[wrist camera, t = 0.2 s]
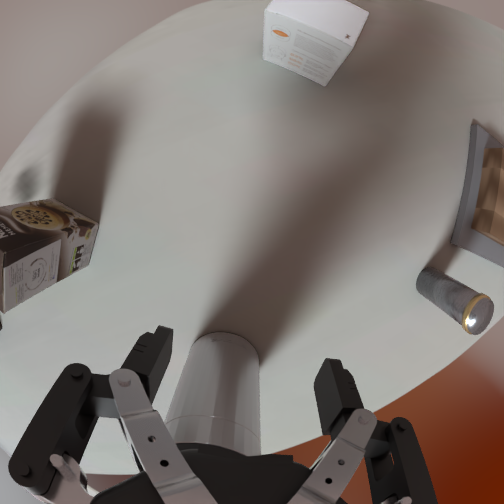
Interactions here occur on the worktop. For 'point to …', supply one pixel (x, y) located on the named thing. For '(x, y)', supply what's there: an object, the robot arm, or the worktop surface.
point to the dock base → (475, 201)
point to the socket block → (491, 197)
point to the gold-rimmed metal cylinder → (456, 300)
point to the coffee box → (40, 248)
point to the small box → (311, 35)
